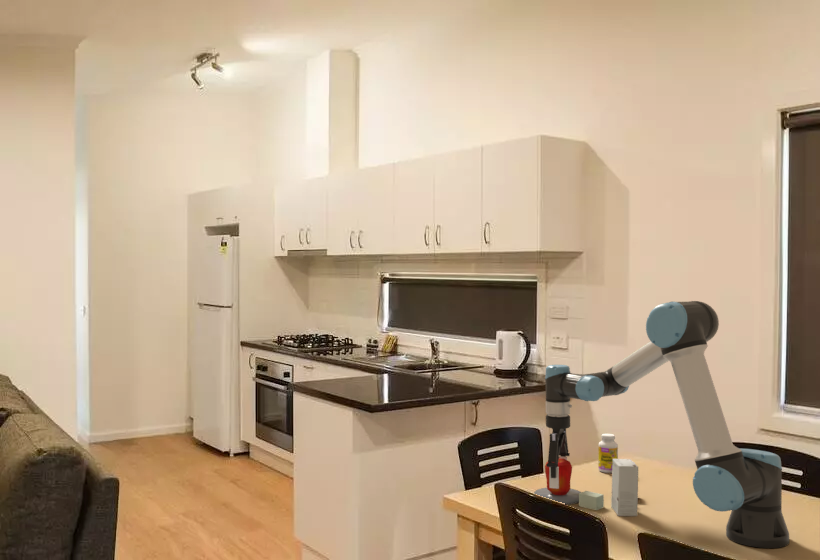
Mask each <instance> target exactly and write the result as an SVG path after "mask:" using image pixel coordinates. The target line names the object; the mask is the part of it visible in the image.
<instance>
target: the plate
mask: <svg viewBox="0 0 820 560" xmlns="http://www.w3.org/2000/svg"><path fill="white" fill-rule="evenodd" d="M581 492H582V491H580V490H578V489H574V488H571V487H570V490H569V492H568V493H567V494H566V495H554V494H552V493H551V492H550V491H549V490H548V489H547V487H543V488H542V487H541V488H539V489H536V490H535V491H534V494H537V495H540V496H543V497H546V498H549V499H552V500H555V501H558V502H562V503H565V504H568V505H574V504H579V493H581Z"/></svg>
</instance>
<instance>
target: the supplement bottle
mask: <svg viewBox="0 0 820 560" xmlns="http://www.w3.org/2000/svg"><path fill="white" fill-rule="evenodd" d="M600 437H601V441H599V442H598V445H597V446H598V453H597V454H598V458H597V459H598V460H597V461H598V464H597V465H598V471H600V472H601V473H605V474H612V465H613V459H619V450H618V449H619V445H618V443H617V442H616V441H615V439H616V435H615V434H613V433H602V434H601V436H600Z"/></svg>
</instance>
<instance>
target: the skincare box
mask: <svg viewBox="0 0 820 560" xmlns="http://www.w3.org/2000/svg"><path fill="white" fill-rule="evenodd" d="M611 474H612V475H611V502H610V503H611V504H610V506H611V509H612V510H613V511H614V512H615V513H616V515H617V516H618V517H638V506H639V505H638V497H639V493H638V492H639V466H638V465H637V464H636V462H635V461H633V460H632V458H618V459H613V465H612V473H611Z"/></svg>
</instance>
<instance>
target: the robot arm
mask: <svg viewBox="0 0 820 560" xmlns="http://www.w3.org/2000/svg"><path fill="white" fill-rule="evenodd" d="M645 321H646V322H645V330H646V331H645V332H646V335H647V338H648V340H649V342H647V343H645V344H644V345H643V346H641V347H639V348H638V349H637V350H635V351H634V352H632V353H631V354H629V355H628V356H626V357H625V358H623V359H622V360H620V361H619V362H617V363H615V364H614V365H613V366H611V367H610V368H608V369H607V370H605V371H600V372H591V373H584V374H583V373H582V374H579V373H573V372H571V368H570V366H569V365H566V364H550V365H549V364H548V365H547V366H546V367H545V373H544V374H545V375H544V376H545V378H544V380H545V383H544V384H545V385H544V386H545V414H546V415H545V427H546V428H549V429H551V430H552V433H549V445H548V446H549V447H548V457H547V458H548V460H547V462H548V464H547V467H549V488H556V489H559V467H558V460H559V458H562V459H565V460H568V457H570V452H569V446H568V437H567V429H570V427H571V416H570V414H571V409H572V407H573V404H571V399H575V400H580V401H585V402H598V401H599V400H600V399H601V398H602V397H603V398H604V397H609V396H619V395H621V394H625V393H626V392H627V391H628V390H629V388H630V386H631V385H633V384H634V383H636V382H638V381H639V380H641V379H642V378H644V377H645V376H647V375H649V374H651V372H654V371H655V370H656V369H659V368H660V367H661V366H663V365H665V364H666V363H668V362H670V364H671V367H672V370H673V373H674V374H673V375H674V377H675V380H676V384H677V387H678V389H679V393H680V396H681V399H682V403H683V405H684V409H685V412H686V416H687V418H688V419H687V420H688V423H689V425H690V428H691V432H692V436H693V438H694V441H695V445H696V447H697V454H696V456H695V458H694V462H695V467H696V469H697V470H696V471H695V472H694V476H693V477H692V486H693V490H694V494H696V497H697V498H698V499H699V501H700V502H701V503H702V504H703V505H705V506H706V507H707V508H708V509H711V510H713V511H715V512H728V511H729V512H730V514H729V517H728V521H727V523H726V525H725V527H726V528H725V533H726V538H728V539H729V540H731V541H732V542H734V543H737V544H740V545H743V546H747V547H754V548H759V549H760V548H762V549H777V548H783V547H786V546H788V545H789V544H790V532H789V529H788V526H787V524H786V520H785V518H784V515H783V510H782V502H783V499H782V495H783V494H782V489H783V487H782V482H783V481H782V479H783V478H782V477H783V476H782V471H783V467H782V461H781V459H782V458H781V457H780V456H779V455H778V454H776V453H775V452H774V453H773V452H770V451H766V450H759V449H752V448H739V447H737V446H735V444H733V441H732V437H731V434H730V431H729V428H728V425H727V421H726V418H725V417H724V416H725V415H724V412H723V409H722V406H721V403H720V400H719V397H718V393H717V390H716V388H715V387H716V386H715V384H714V381H713V378H712V374H711V372H710V369H709V365H708V363H707V359H706V356H705V351H706V350H707V348H708V346H709V345H708V342H709V341H711V340H712V339H713V338H714V337H715V336H716V335H717V332H718V330H719V326H720V324H719V322H720V321H719V316H718V314H717V312H716V311H715V309H714V308H712V306H711V305H709V304H708V303H706V302H702V301H700V300H699V301H698V300H691V301H669V302H665V303H659V304H658V305H656V306H655V307H654V308H653V309H651V311H650V312H649V314H648V317H646V320H645ZM553 462H554V463H553Z"/></svg>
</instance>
